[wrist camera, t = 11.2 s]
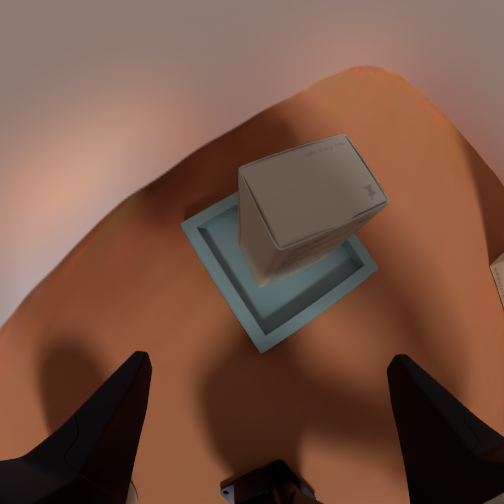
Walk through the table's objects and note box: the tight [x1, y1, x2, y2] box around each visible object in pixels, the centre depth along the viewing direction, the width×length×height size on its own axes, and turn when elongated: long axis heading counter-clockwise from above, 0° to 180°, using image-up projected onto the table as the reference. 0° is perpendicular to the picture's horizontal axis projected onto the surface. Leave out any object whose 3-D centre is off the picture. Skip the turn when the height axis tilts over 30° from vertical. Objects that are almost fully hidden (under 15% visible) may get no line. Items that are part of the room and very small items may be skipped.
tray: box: [180, 191, 379, 354], centre depth 23 cm, size 12×12×2 cm
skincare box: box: [238, 134, 390, 288], centre depth 18 cm, size 6×4×12 cm
